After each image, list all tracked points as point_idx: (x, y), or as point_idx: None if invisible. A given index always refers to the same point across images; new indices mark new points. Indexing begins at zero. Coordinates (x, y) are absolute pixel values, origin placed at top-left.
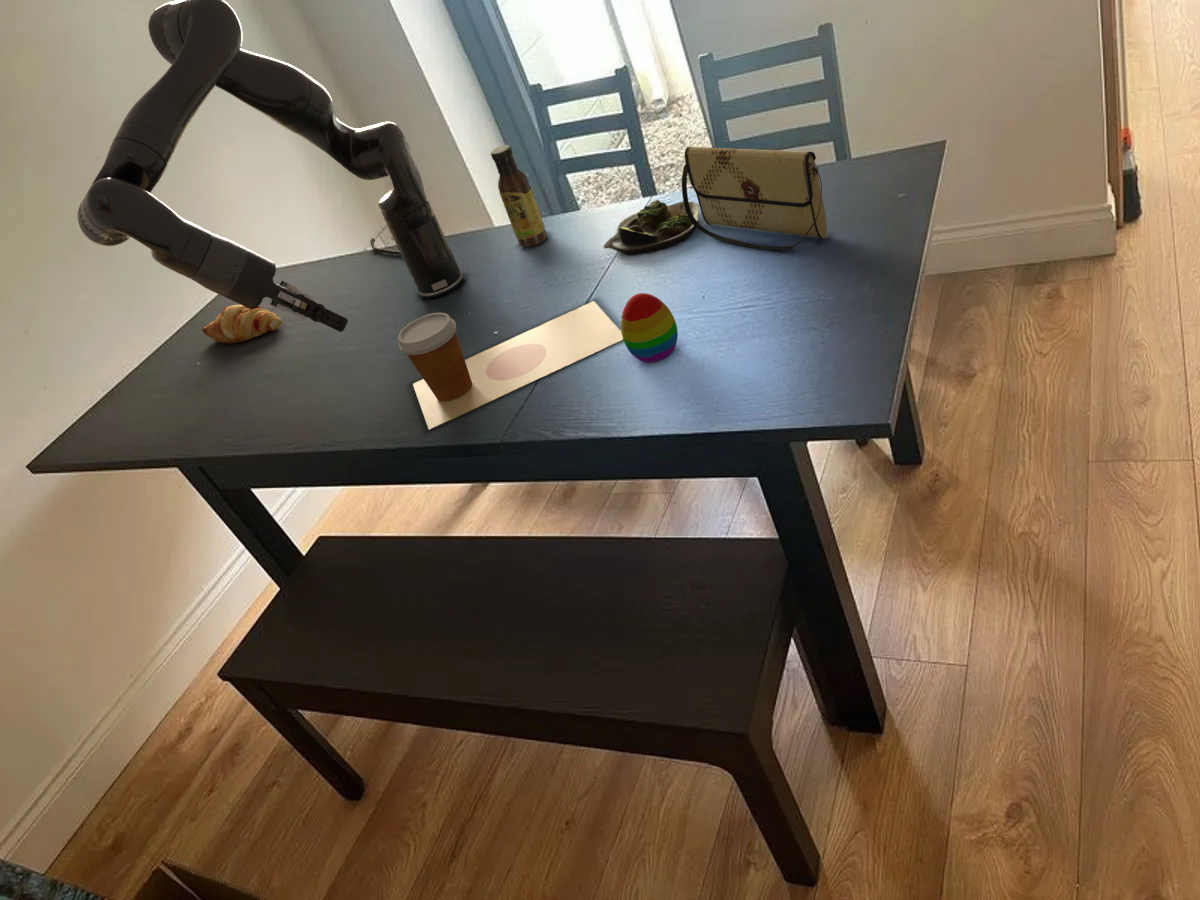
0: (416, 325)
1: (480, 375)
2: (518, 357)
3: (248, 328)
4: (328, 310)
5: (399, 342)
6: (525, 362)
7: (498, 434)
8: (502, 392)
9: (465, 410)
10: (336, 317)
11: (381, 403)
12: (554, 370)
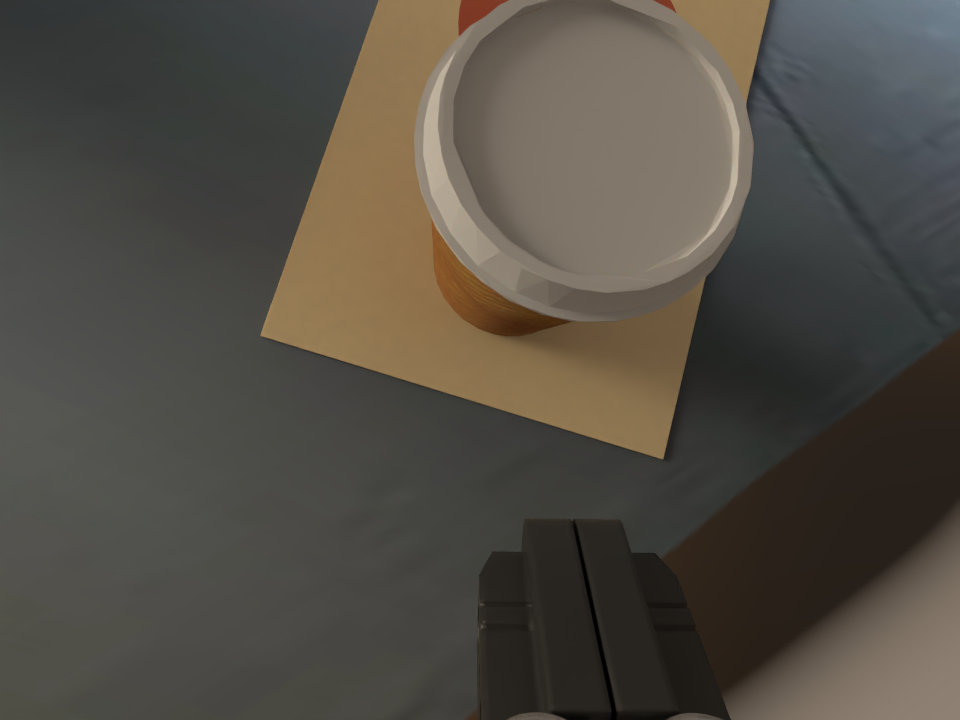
0: (487, 135)
1: None
2: None
3: None
4: (664, 686)
5: (565, 295)
6: None
7: (909, 323)
8: None
9: (681, 312)
10: (691, 628)
11: (248, 497)
12: (760, 14)
